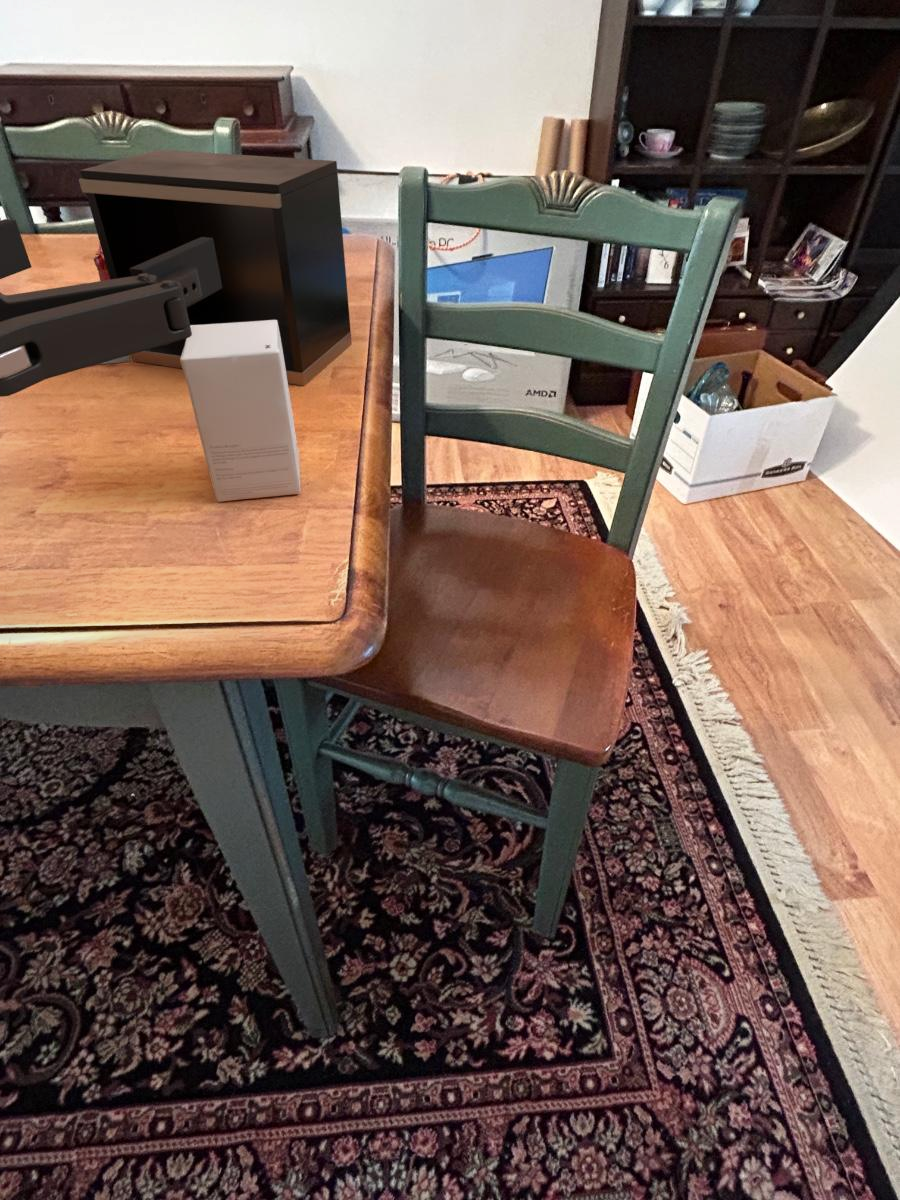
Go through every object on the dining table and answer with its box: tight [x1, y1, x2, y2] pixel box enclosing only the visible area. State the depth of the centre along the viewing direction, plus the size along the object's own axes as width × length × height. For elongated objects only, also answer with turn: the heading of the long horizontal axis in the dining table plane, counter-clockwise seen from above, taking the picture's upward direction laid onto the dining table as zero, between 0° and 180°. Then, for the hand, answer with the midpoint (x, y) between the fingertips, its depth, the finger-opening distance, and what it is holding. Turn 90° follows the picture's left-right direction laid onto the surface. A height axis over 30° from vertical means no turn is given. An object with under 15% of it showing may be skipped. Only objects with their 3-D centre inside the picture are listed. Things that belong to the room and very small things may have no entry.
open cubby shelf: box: [78, 149, 353, 387], centre depth 81 cm, size 22×14×20 cm, turn 72°
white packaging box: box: [180, 320, 302, 503], centre depth 61 cm, size 7×7×13 cm
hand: (112, 252), depth 44 cm, fingers open, 13 cm apart
